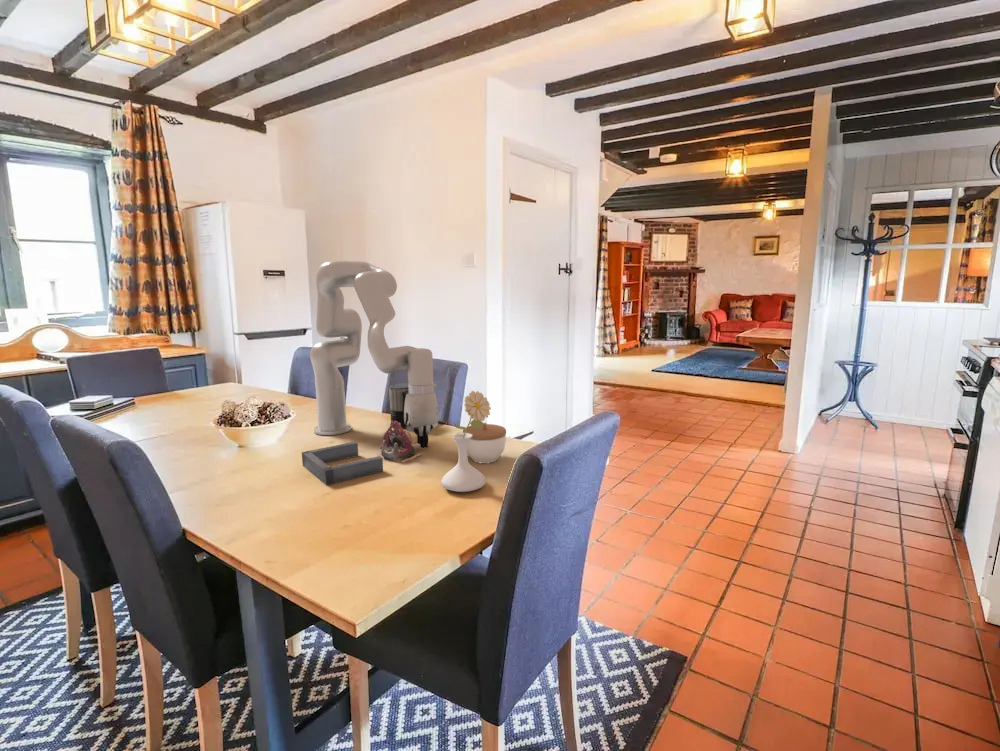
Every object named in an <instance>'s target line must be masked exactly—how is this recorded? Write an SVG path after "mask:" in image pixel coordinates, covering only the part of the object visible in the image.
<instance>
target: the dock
mask: <svg viewBox="0 0 1000 751" xmlns="http://www.w3.org/2000/svg"><path fill="white" fill-rule="evenodd" d="M355 457H359V444H358V442H356V441H353V442H352V441H351V442H345V443H343V444H342V443H341V444H336V445H331V446H327V447H320V448H317V449H312V450H306V451H301V462H302V466H303V467H304V468H305V469H306V470H308V472H310V473H311V474H312V475H313V476H314V477H316V479H318V480H320V482H321V483H323V484H324V485H325V486H330V485H333V484H339V483H343V482H346V481H351V480H355V479H359V478H362V477H363V478H364V477H367V476H371V475H375V474H379V473H383V472H384V462H383V461H384V460H383V459H384V457H383V456H381V455H377V456H373V457H369V458H364V459H360V460H356V461H350V462H347V463H342V464H337V465H334V466H330V465H328V464H327V463H332V462H336V461H342V460H346V459H351V458H355Z"/></svg>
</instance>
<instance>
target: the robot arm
mask: <svg viewBox="0 0 1000 751" xmlns="http://www.w3.org/2000/svg"><path fill="white" fill-rule="evenodd" d="M315 284H316V291H317V301H316V302H317V303H316V304H317V305H316V320H315V321H316V325H315V326H316V332H317V334H318V336H320V337H322V338H324V339H332V340H325V341H324V340H323V341H319V342H317V343H315V344H314V345H313V346H312V347H311V349H310V352H309V358H310V363H311V366H312V369H313V375H314V384H315V385H314V386H315V397H316V412H317V413H316V414H317V424H318V425H317V426H315V427H314V428H313V433H315V434H316V435H320V436H335V435H341V434H342V435H343V434H345V433H348V432H350V431H351V430H352V425H351V423H348V422H347V411H346V410H347V407H346V391H345V390H346V389H345V381H344V377H343V375H342V374H341V372H340V370H339V368H340V367H346V366H350V365H354V364H356V362H357V361H358V360H359V357H360V355H361V346H362V345H361V343H362V331H363V323H362V319H361V316H360V314H359V313H358V312H357V311H356V310H355V309H352V308H344V307H345V297H344V294H343V292H342V290H341V288H354V290H355V292H356V295H357V297H358V299H359V303H361V306H362V308H363V311H364V313H365V315H366V317H367V319H368V321H369V327H368V331H367V348H368V351H369V354H370V356H371V358H372V361H373V363H374V364H375V365H376V367H377V369H378V370H379V371H380V372H381V373H384V374H394V373H399V372H404V371H407V380H408V382H407V383H408V387H409V394H406V398H405V405H404V423H405V424H406V425H407V426H406V428H405V431H408V432H409V433H410V432H412V433H414V434H415V435H416V439H417V440H416V444H420V445H421V446H420V448H421V449H426V448H429V435H430V433H431V431H432V430H433V429H434V428H435V427H437V426H438V425H439V420H440V419H439V415H440V414H439V405H438V404H439V403H438V399H437V396H436V395H437V394H436V391H435V389H436V388H438V386H437V383H435V382H434V371H433V370H434V364H433V351H432V350H431V349H429V348H422V347H421V348H420V347H414V346H411V345H402V346H395V347H391V348H390V347H389V345H388V343H387V341H386V338H385V327H386V325H387V324H389V323H390V322H391V321H392V320H393V319H394V318H395V317H396V311H395V308H394V306H393V304H392V302H391V300H390V298H391V297H392V296H394V295H395V294H396V292H397V289H398V284H397V280H396V278H395V277H394V276H393V274H392V273H390V272H389V271H387V270H385V269H383V268H380V267H378V266H376V265H374V264H371V263H369V262H366V261H361V260H358V261H357V260H356V261H355V260H331V261H326V262H323V263H322V264H321V265H320V266H319V267H318V269H317V271H316V275H315ZM333 338H339V339H333Z"/></svg>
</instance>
